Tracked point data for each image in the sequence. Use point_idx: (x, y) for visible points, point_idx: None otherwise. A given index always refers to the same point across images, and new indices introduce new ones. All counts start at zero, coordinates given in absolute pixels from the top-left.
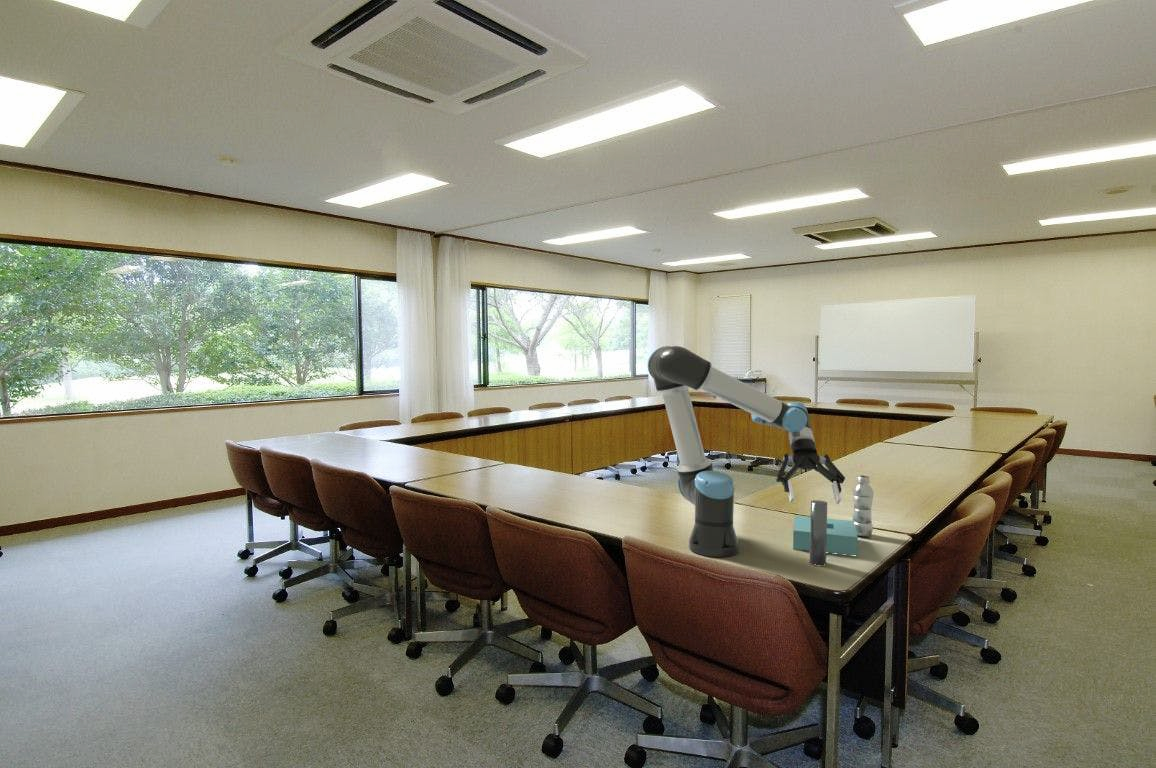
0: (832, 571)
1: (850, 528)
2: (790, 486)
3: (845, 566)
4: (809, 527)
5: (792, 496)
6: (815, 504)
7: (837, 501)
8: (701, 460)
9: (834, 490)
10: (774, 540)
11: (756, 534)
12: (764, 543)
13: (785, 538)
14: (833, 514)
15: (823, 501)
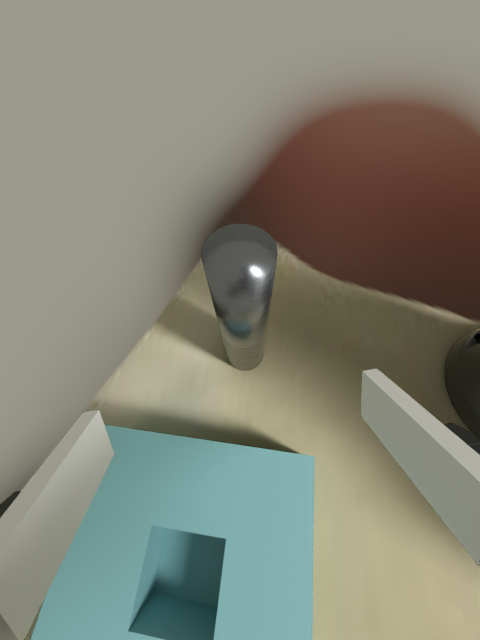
0: None
1: (78, 557)
2: (438, 430)
3: (184, 348)
4: (249, 522)
5: (378, 377)
6: (259, 230)
7: (105, 428)
8: None
9: (60, 512)
10: (365, 551)
11: (448, 635)
12: (393, 498)
13: (328, 597)
14: None
15: (214, 268)
